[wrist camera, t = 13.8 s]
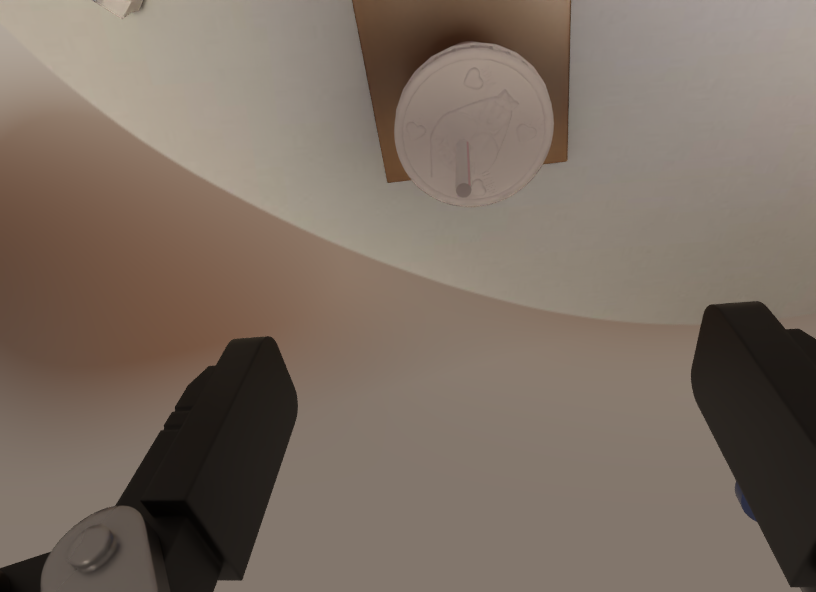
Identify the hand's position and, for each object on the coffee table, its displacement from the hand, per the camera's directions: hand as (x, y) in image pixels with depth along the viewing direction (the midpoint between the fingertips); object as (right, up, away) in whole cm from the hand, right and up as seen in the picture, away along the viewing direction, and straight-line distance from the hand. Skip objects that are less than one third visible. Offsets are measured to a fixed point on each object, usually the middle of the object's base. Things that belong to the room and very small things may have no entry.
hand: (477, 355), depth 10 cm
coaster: (+2, +13, +19) cm, 23 cm away
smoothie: (+2, +13, +18) cm, 23 cm away
